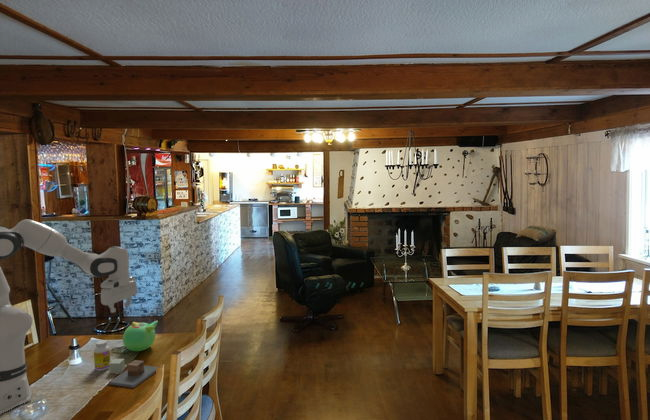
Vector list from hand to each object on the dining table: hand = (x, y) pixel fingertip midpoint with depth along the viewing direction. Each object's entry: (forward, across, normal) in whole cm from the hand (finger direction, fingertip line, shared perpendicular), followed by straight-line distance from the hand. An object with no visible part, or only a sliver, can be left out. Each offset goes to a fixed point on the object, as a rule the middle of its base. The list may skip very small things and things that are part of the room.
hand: (120, 309), depth 210 cm
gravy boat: (+28, -21, -6) cm, 36 cm away
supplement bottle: (+29, +3, -9) cm, 30 cm away
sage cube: (+29, +4, 0) cm, 29 cm away
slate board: (+28, +7, +12) cm, 32 cm away
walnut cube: (+27, +6, +12) cm, 30 cm away
